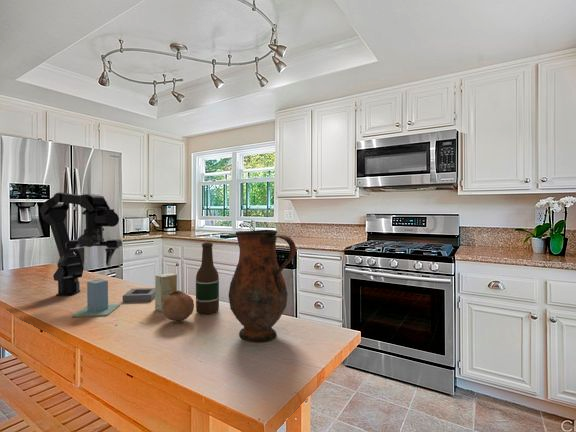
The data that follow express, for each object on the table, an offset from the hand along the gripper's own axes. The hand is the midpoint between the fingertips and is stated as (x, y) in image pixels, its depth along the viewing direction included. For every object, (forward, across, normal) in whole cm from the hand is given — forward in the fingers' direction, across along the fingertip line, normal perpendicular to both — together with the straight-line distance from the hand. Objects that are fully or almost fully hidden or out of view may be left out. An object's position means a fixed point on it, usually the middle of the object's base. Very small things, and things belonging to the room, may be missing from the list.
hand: (95, 265), depth 126 cm
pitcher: (+14, +64, -46) cm, 80 cm away
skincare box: (+13, +31, -17) cm, 38 cm away
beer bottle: (+13, +46, -22) cm, 53 cm away
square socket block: (+13, +18, -2) cm, 22 cm away
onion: (+13, +38, -31) cm, 51 cm away
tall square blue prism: (+13, +8, -17) cm, 23 cm away
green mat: (+13, +8, -17) cm, 23 cm away
